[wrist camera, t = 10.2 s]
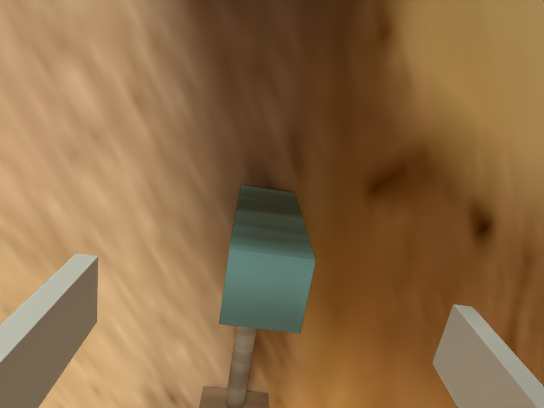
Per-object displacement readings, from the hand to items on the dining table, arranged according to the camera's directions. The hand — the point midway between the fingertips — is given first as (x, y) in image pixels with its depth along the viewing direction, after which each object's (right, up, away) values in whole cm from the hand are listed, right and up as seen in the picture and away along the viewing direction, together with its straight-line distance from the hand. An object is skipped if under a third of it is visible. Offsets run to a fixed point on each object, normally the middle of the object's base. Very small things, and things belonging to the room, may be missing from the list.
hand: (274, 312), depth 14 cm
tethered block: (-2, -5, +14) cm, 15 cm away
